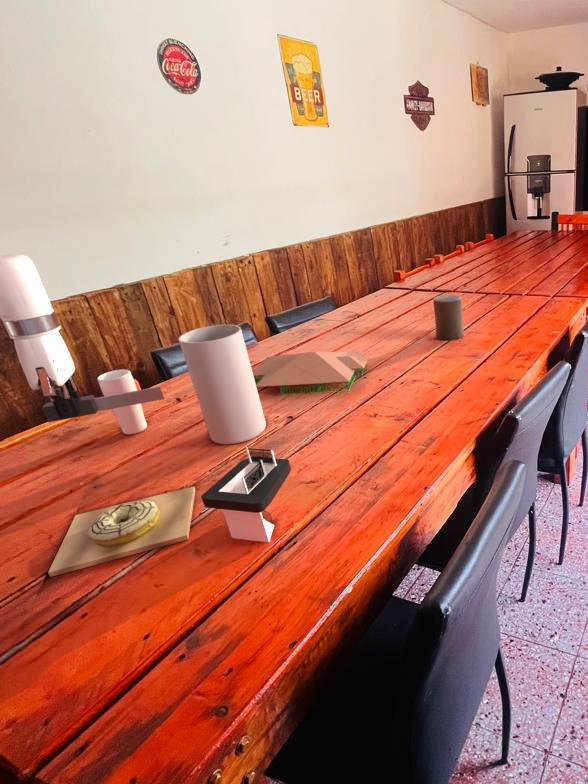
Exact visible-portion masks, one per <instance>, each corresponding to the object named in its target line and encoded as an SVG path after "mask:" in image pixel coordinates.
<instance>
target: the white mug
mask: <svg viewBox="0 0 588 784" xmlns="http://www.w3.org/2000/svg"><path fill="white" fill-rule="evenodd" d="M96 379H97V382H98V385H99V388H100V390H101V393H102V395H103V397H104V396H109V395H115V394H121V393H126V392H132V391H138V388H137V385H136V382H135V378H134V377H133V375H132V373H131V370H129V369H115V370H111V371H108V372H105V373H102V374H100V375H99V376H98V377H97V378H96ZM110 410H111V412H112V414H113V416H114V417H115V419H116V421H117V423H118V425H119V427H120V430H121V432H122V433H123V434H124V435H127V436H128V435H136V434H139V433H141V432H143V431H145V430H146V429H147V428H148V423H147V420H146V417H145V414H144V410H143V405H142V403H141V404H135V405H130V406H125V407H119V408H114V409H110Z"/></svg>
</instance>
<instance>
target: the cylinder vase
mask: <svg viewBox="0 0 588 784" xmlns="http://www.w3.org/2000/svg"><path fill="white" fill-rule="evenodd" d="M178 343H179V346H180V348H181V351H182V354H183V358H184V361H185V365H186V367H187V370H188V373H189V377H190V379H191V382H192V386H193V388H194V392H195V395H196V398H197V401H198V404H199V408H200V411H201V413H202V416H203V420H204V422H205V426H206V429H207V433H208V435H209V438H210V440H211V441H212V442H214V443H216V444H220V445H234V444H241V443H245V442H247V441H250V440H252V439H254V438H256V437H258V436H259V435H261V434H262V433H263V432H264V430H266V426H267V422H266V417H265V414H264V410H263V406H262V402H261V398H260V395H259V392H258V387H256V382H255V378H254V376H253V372H254V371H253V368H252V365H251V361H250V358H249V354H248V350H247V345H246V342H245V339H244V334H243V331H242V326H240V325H236V324H215V325H209V326H203V327H198V328H195V329H192V330H189V331H187V332H185V333H182V334H181V335H179V337H178Z"/></svg>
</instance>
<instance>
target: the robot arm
mask: <svg viewBox="0 0 588 784" xmlns="http://www.w3.org/2000/svg"><path fill="white" fill-rule="evenodd" d="M40 277H41V276H40V274H39V273H38V269H37V268H36V266H35V263H34V262H33V260H32V258H30V257H29V256H27V255H25V254H5V255H0V320H1V321H2V323H3V325H4V328H5V330H6V332H7V334H8V336H9V339H12V340H13V343H14V344H13V345H14V348H15V351H16V355H17V357H18V361H19V363H20V366H21V368H22V371H23V373H24V375H25V378H26V380H27V382H28V385H29V387H30V389H31V390H33V391H38V390H40V389H42V392H43V396H44V397H45V398H49V400H50V402H53V404H54V406H55V409H56V411H57V413H58V415H59V417H60V419H64V420H67V419H66V418H69V419H72V418H71V417H75V418H78V417H77V416H79V415H80V413H79V410H78V408H77V406H76V404H75V401H74V399H73V398H78V397H81V396H80V394H79V391H78V390H77V385H76V383H75V381H74V378H73V374H74V373H75V371H76V366H75V363H74V360H73V358H72V355H71V353H70V351H69V348H68V346H67V344H66V342H65V340H64V338H63V336H62V335H61V333H60V330H61V329H62V326H61V324H60V321H59V320H58V317H57V315H56V312H55V310H54V308H53V305H52V303H51V301H50V298H49V296H48V294H47V292H46V289H45V287H44V284H43V282H42V280H41V278H40Z"/></svg>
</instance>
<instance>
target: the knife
mask: <svg viewBox="0 0 588 784" xmlns="http://www.w3.org/2000/svg"><path fill="white" fill-rule="evenodd" d="M73 399H74V401H75V404H76V406H77V408H78V410H79V413H80V415H79V416H77V417H71V418H66V419H60V417H59V415H58V413H57V411H56V409H55V406H54V404H53V402H52V401H49V402H46V403H45V404H43V405H42V407H41V410H42V412H43V413H44V416H45V418H46V419H47V422H48V423H53V422H57V421H63V420H68V419H74V418H80V417H85V416H90V415H96V414H97V413H98V412H102V411H109V410H111V409H114V408H119V407H125V406H130V405H135V404H141V405H142V404H146V403H150V402H156V401H163V400H165V396H164V394H163V391H162V388H161V386H154V387H149V388H144V389H137V391H132V392H126V393H121V394H115V395H109V396H104V395H103V396H99V397H95V395H94V394H90V395H85V396H80V397H78V398H73Z"/></svg>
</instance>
